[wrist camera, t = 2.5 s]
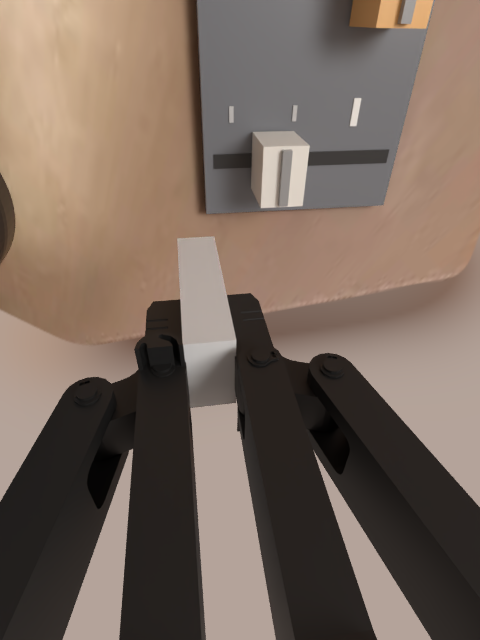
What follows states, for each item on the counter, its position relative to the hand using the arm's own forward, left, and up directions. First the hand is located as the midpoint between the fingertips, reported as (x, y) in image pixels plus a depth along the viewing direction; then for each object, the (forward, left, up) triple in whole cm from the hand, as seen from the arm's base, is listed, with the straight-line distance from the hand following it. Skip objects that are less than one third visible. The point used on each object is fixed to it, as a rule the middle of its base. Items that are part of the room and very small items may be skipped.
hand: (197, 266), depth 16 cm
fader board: (+9, +6, -16) cm, 19 cm away
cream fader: (+6, 0, -15) cm, 16 cm away
